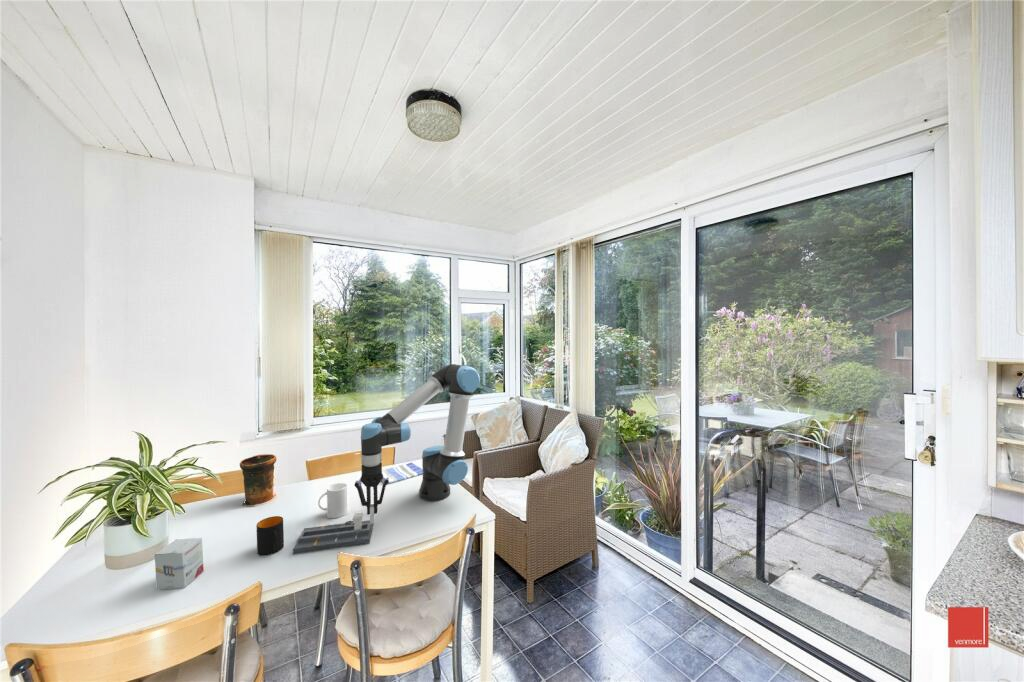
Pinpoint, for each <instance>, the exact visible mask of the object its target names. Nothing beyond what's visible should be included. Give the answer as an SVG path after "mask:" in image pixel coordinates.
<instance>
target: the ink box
mask: <svg viewBox="0 0 1024 682" xmlns="http://www.w3.org/2000/svg"><path fill="white" fill-rule="evenodd" d="M154 564H155V565H154V567H155V584H156V587H155V588H156V590H157V591H161V590H174V589H175V590H176V589H185V588H187V587H188V585H190V584H191V583H192V582H193V581H194V580H196V578H197V577H198V576H199V575H200V574H201V573H203V572H204V555H203V539H202V537H198V538H197V537H189V538H180V539H179V538H177V539H174V540H173V541H172V542H170V543H169V544H168V545H166V546H165V547H163V548H162V549H160V550H159V551H157V552H156V553H155V554H154Z"/></svg>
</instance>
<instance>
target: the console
mask: <svg viewBox="0 0 1024 682" xmlns="http://www.w3.org/2000/svg"><path fill="white" fill-rule="evenodd" d="M374 524H375V522H374V523H371V524H370V519H369V520H362V529H360V530H354V521H353V520H348V521H346V522H344V523H336V524H329V525H321V526H312V527H305V528H303V530H302V531H301V533H300V535H299V537H298V538H297V540H296V543H295V544H294V546H293V548H292V555H298V554H306V553H312V552H313V553H314V552H319V551H321V552H322V551H326V550H335V549H336V550H337V549H342V548H343V549H344V548H350V547H356V546H364V545H370V543H371V539H372V538H371V537H372V533H373V529H374Z"/></svg>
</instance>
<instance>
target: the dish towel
mask: <svg viewBox="0 0 1024 682" xmlns="http://www.w3.org/2000/svg"><path fill="white" fill-rule="evenodd" d="M382 474H383V477H385V478H389V481H388V483H387V485H390V484H394V483H397V482H398V483H399V482H401V481H405V480H408V479H412V478H415V477H419V476H423V468H421V467H419V466H417V465H416V464H414V463H413V462H408V464H407V463H404V464H401V465H398V466H396V467H390V468H386V469H382ZM381 482H382V480H381Z"/></svg>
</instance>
